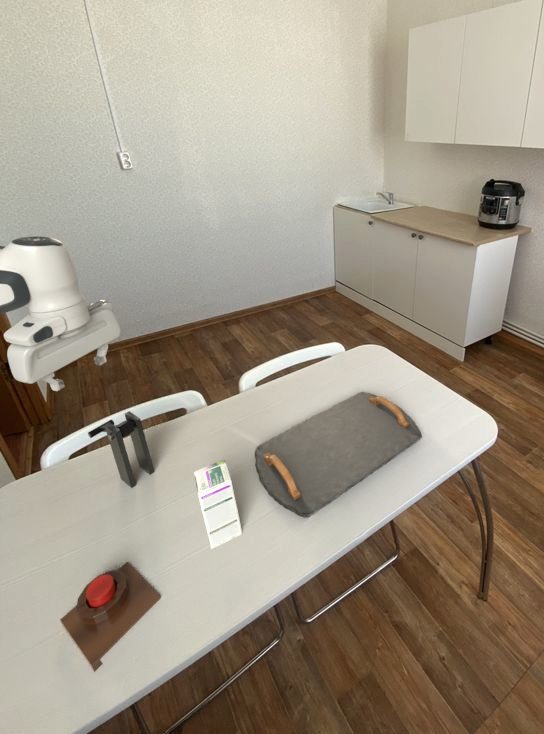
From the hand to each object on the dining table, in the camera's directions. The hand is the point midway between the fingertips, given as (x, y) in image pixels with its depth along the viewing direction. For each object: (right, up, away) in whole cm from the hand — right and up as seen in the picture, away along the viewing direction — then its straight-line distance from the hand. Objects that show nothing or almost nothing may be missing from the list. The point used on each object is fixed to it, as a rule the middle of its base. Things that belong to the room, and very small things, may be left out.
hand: (81, 375), depth 81 cm
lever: (+6, -13, +2) cm, 15 cm away
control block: (+20, -32, -21) cm, 44 cm away
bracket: (+11, -24, +3) cm, 26 cm away
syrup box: (+34, -28, -9) cm, 44 cm away
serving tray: (+54, -20, +10) cm, 59 cm away
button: (+19, -29, -21) cm, 40 cm away
